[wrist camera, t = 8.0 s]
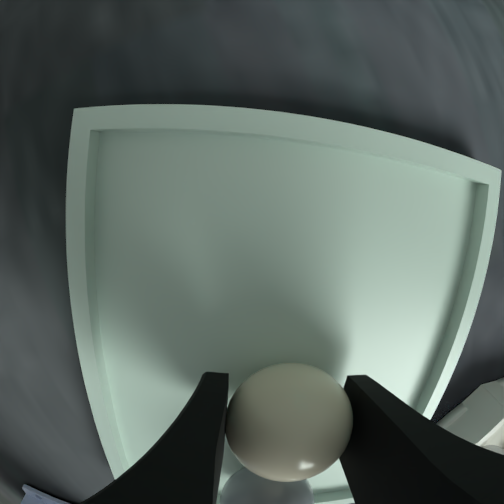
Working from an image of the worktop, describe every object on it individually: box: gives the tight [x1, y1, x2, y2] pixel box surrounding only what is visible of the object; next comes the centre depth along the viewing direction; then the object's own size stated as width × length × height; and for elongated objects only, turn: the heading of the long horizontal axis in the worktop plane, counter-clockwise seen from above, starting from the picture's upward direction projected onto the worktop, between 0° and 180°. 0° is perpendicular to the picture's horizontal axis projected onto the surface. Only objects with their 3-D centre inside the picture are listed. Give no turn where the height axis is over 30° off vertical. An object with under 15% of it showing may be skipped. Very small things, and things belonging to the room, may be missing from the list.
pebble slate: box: [220, 467, 314, 504], centre depth 8 cm, size 3×3×3 cm
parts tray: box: [66, 104, 501, 504], centre depth 9 cm, size 12×15×1 cm
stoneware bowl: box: [436, 377, 504, 449], centre depth 11 cm, size 11×11×2 cm
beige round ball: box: [225, 363, 353, 482], centre depth 7 cm, size 3×3×3 cm
